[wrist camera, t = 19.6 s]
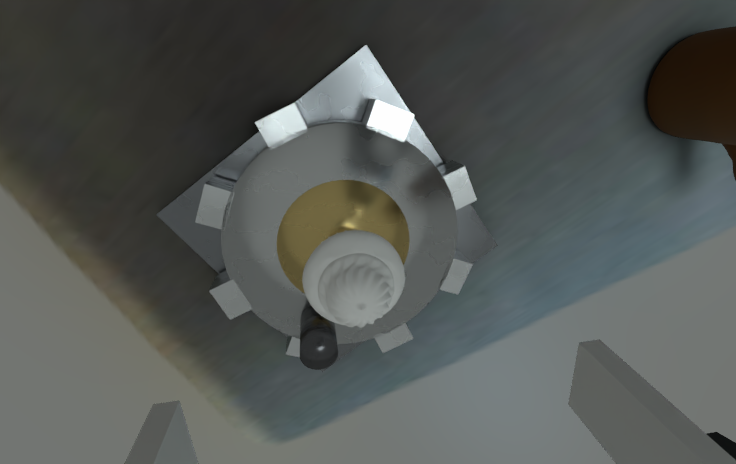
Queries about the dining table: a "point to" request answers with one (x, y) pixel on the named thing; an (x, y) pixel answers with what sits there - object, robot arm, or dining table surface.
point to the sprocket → (334, 222)
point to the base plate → (322, 103)
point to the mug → (698, 90)
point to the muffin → (353, 278)
